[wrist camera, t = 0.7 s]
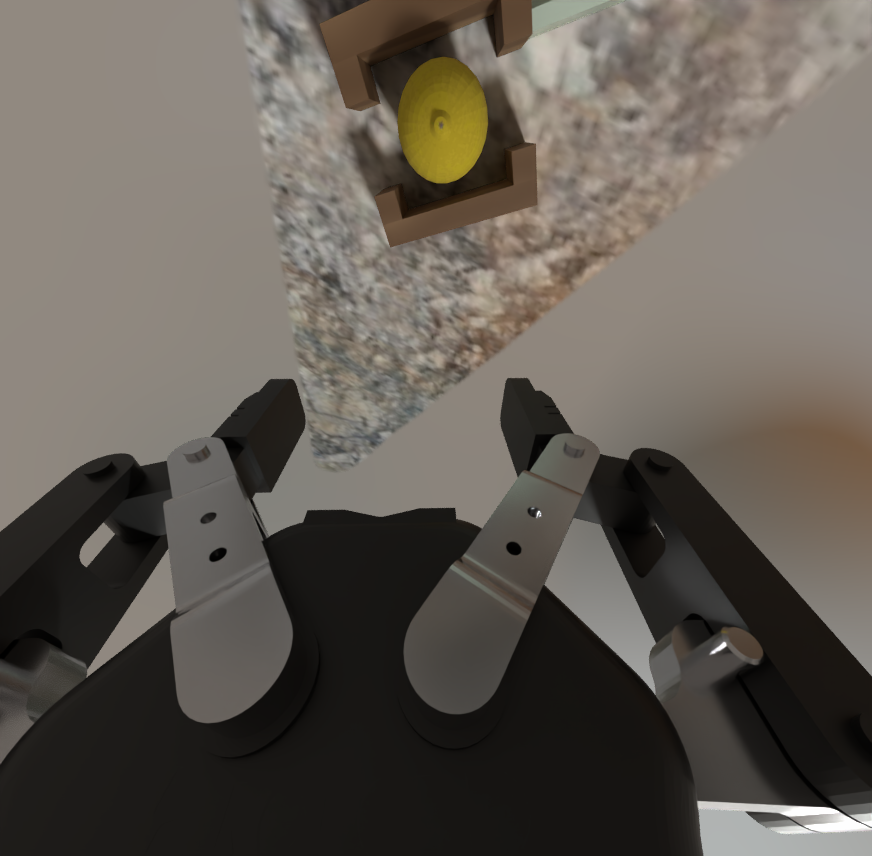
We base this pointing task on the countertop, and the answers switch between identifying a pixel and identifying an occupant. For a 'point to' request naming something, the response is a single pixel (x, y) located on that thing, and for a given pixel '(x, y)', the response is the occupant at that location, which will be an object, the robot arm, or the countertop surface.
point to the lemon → (442, 120)
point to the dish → (563, 12)
